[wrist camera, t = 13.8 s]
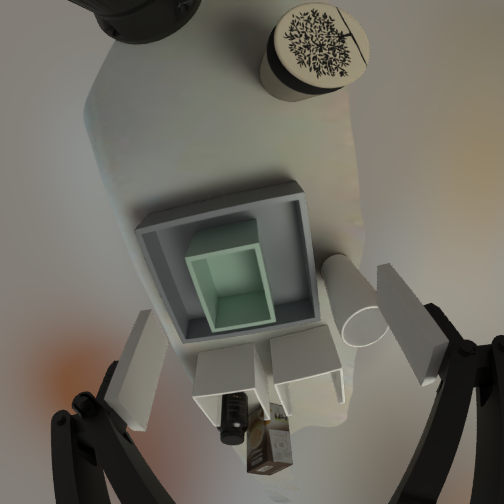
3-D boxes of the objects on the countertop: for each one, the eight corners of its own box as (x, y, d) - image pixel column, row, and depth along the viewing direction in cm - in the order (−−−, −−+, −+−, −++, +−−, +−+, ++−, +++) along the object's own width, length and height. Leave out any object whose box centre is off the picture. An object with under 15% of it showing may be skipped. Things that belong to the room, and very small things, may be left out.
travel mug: (269, 108, 35) (289, 100, 19) (251, 55, 32) (256, 8, 15) (326, 95, 34) (385, 83, 18) (308, 42, 31) (354, -4, 15)
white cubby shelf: (327, 324, 51) (342, 367, 41) (332, 361, 56) (344, 402, 46) (198, 352, 54) (191, 396, 44) (217, 385, 58) (214, 426, 49)
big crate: (147, 214, 41) (134, 230, 36) (296, 181, 40) (304, 192, 34) (188, 320, 50) (182, 343, 44) (313, 297, 48) (320, 320, 43)
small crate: (194, 232, 42) (184, 257, 34) (256, 219, 41) (258, 242, 34) (216, 299, 47) (212, 332, 40) (271, 289, 46) (276, 321, 39)
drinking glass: (306, 270, 46) (329, 334, 32) (336, 240, 44) (372, 295, 30) (334, 292, 48) (361, 355, 34) (363, 264, 46) (401, 321, 32)
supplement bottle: (243, 406, 62) (243, 449, 51) (214, 401, 61) (211, 444, 50) (252, 391, 59) (253, 436, 49) (222, 385, 58) (219, 431, 48)
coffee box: (264, 400, 61) (268, 460, 47) (287, 406, 63) (294, 463, 48) (245, 418, 65) (246, 473, 50) (267, 423, 66) (270, 476, 52)
